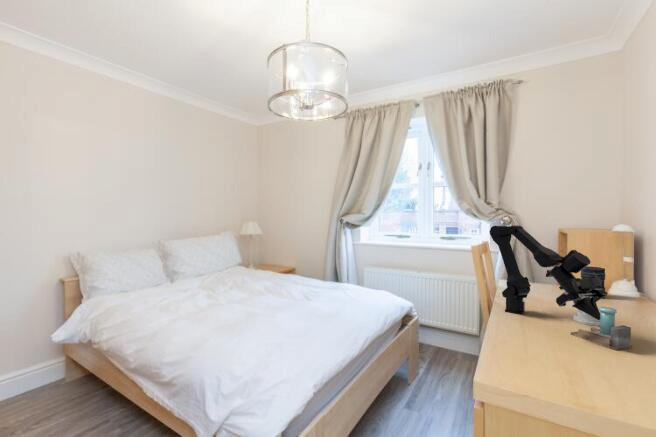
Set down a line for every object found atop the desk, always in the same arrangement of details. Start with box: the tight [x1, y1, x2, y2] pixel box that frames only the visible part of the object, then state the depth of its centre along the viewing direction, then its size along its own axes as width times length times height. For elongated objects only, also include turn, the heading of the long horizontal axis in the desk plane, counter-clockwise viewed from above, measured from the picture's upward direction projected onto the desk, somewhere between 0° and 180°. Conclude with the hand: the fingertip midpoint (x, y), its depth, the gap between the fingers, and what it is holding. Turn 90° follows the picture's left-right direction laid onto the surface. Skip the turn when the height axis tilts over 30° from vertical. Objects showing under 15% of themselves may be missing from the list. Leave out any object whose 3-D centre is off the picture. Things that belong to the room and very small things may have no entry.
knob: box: [595, 306, 617, 339], centre depth 103 cm, size 5×4×11 cm
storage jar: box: [580, 265, 606, 300], centre depth 162 cm, size 10×10×15 cm
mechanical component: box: [572, 309, 600, 327], centre depth 124 cm, size 10×4×10 cm
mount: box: [570, 324, 633, 351], centre depth 105 cm, size 14×8×7 cm, turn 17°
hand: (600, 319), depth 105 cm, fingers closed, pressing on knob
